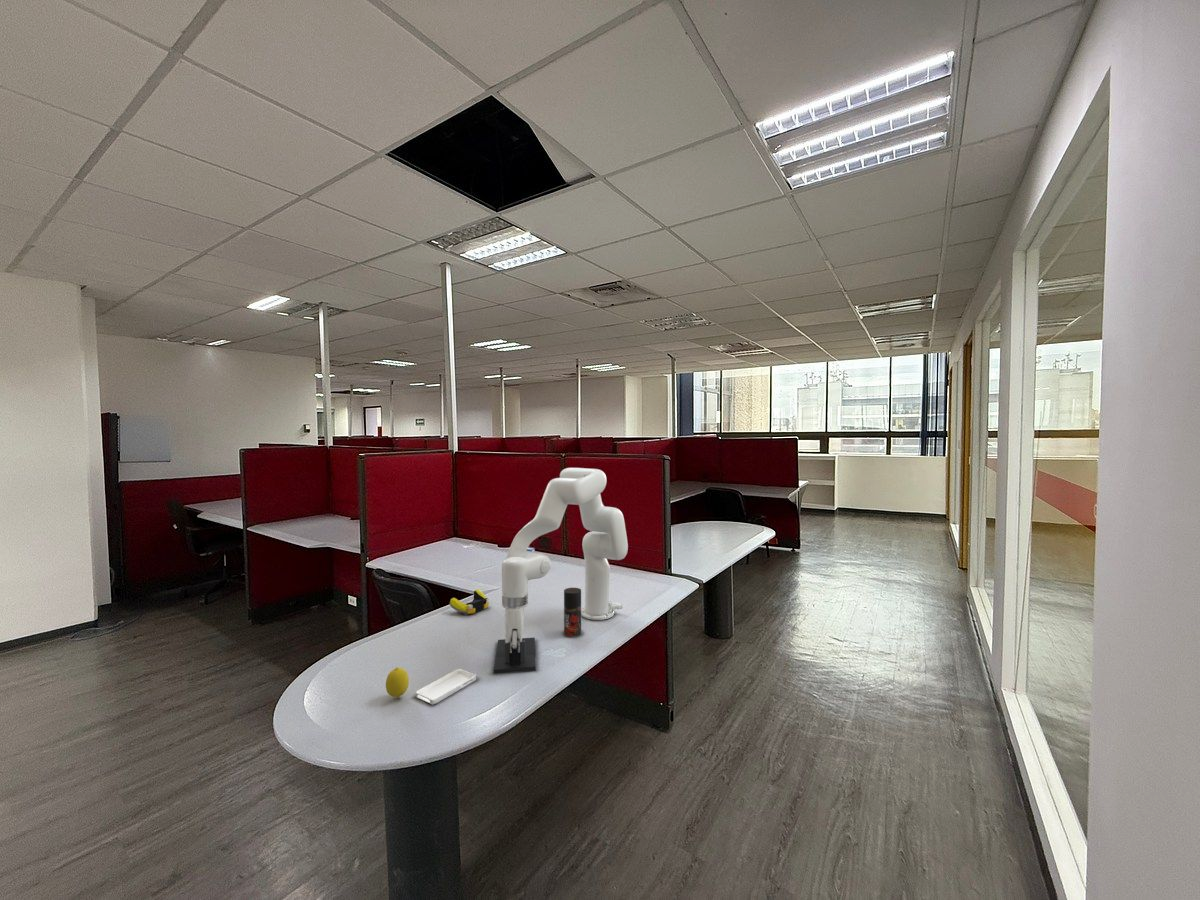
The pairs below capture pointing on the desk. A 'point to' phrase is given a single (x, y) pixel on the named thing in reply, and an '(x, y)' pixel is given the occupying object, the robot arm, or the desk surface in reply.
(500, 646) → the base pad
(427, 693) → the phone case
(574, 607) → the deodorant
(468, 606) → the gaming controller
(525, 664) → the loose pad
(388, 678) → the lemon
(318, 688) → the desk surface
